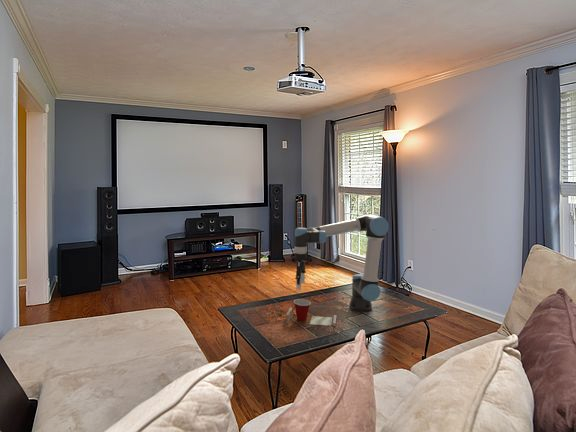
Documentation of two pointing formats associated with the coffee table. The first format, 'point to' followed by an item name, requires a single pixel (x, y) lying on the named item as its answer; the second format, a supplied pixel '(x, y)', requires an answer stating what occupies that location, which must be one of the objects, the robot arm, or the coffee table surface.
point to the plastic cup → (301, 309)
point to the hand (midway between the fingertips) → (300, 286)
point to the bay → (315, 319)
